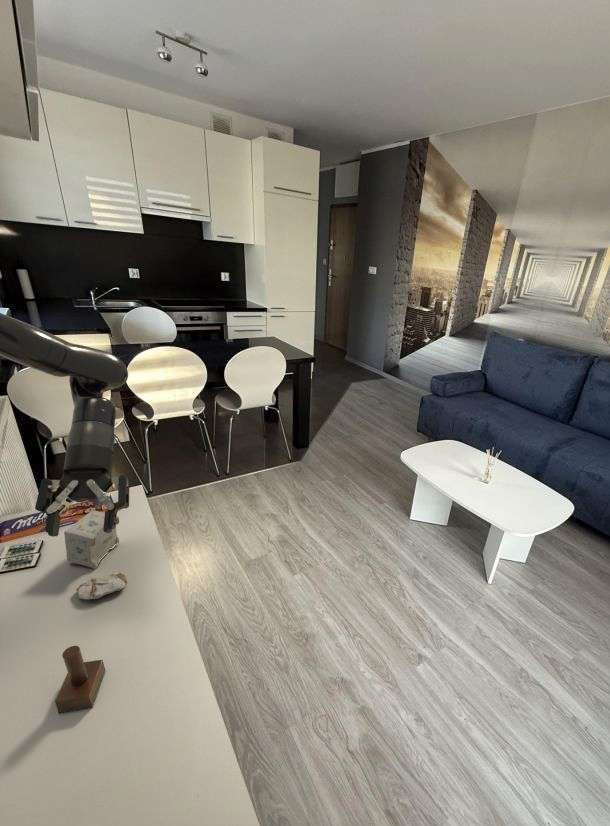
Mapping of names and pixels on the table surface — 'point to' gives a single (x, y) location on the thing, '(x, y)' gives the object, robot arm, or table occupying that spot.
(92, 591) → the stone
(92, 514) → the incense holder
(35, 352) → the robot arm
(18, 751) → the table surface
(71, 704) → the stamp
